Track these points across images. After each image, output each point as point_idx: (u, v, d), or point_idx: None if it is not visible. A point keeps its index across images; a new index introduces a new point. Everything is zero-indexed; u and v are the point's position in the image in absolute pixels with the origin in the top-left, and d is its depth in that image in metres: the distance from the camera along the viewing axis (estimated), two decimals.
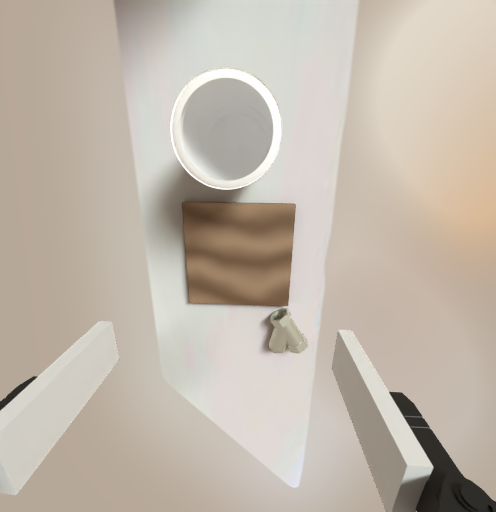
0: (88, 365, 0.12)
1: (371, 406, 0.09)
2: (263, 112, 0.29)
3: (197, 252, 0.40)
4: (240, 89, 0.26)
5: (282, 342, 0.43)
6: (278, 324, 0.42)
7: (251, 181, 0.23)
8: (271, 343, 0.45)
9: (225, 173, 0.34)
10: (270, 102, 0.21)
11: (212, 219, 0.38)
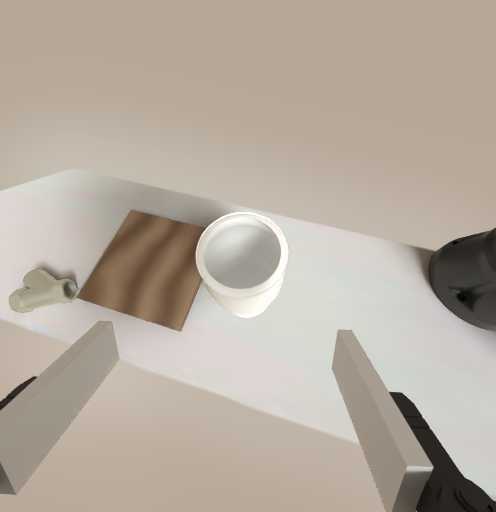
0: (88, 365, 0.12)
1: (371, 406, 0.09)
2: None
3: (172, 229, 0.43)
4: (280, 287, 0.30)
5: (34, 282, 0.38)
6: (58, 284, 0.37)
7: (197, 260, 0.26)
8: (42, 272, 0.40)
9: (227, 269, 0.37)
10: (252, 290, 0.24)
11: (195, 250, 0.41)
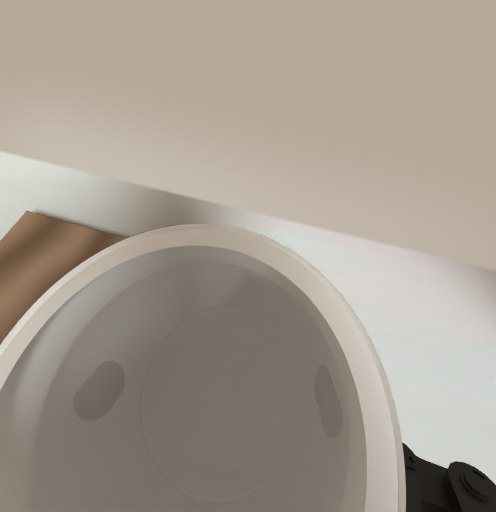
0: None
1: (327, 383, 0.10)
2: (266, 497, 0.11)
3: (94, 249, 0.23)
4: (324, 462, 0.09)
5: None
6: None
7: None
8: None
9: (186, 344, 0.17)
10: None
11: None
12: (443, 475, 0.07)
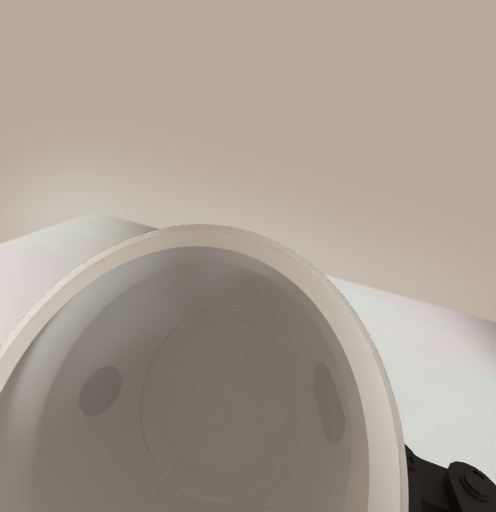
0: None
1: (327, 383, 0.10)
2: (267, 499, 0.11)
3: None
4: (325, 464, 0.09)
5: None
6: None
7: None
8: None
9: (187, 345, 0.17)
10: None
11: None
12: (443, 475, 0.07)
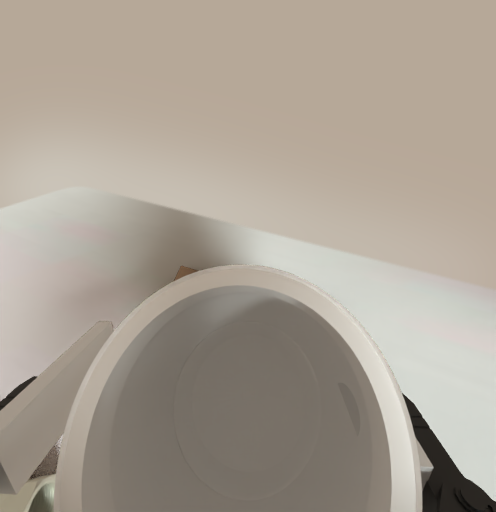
0: (88, 365, 0.12)
1: None
2: (291, 496, 0.12)
3: None
4: (344, 466, 0.11)
5: None
6: (13, 509, 0.16)
7: (62, 473, 0.07)
8: None
9: (210, 356, 0.18)
10: None
11: None
12: None
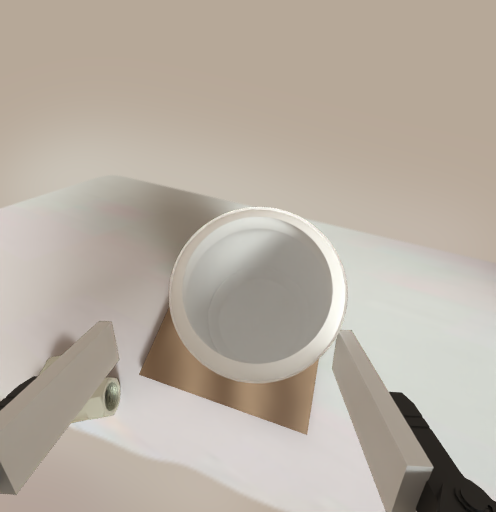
0: (88, 365, 0.12)
1: (371, 406, 0.09)
2: None
3: None
4: None
5: None
6: (95, 392, 0.23)
7: (171, 292, 0.14)
8: None
9: (233, 291, 0.25)
10: (272, 369, 0.12)
11: None
12: None
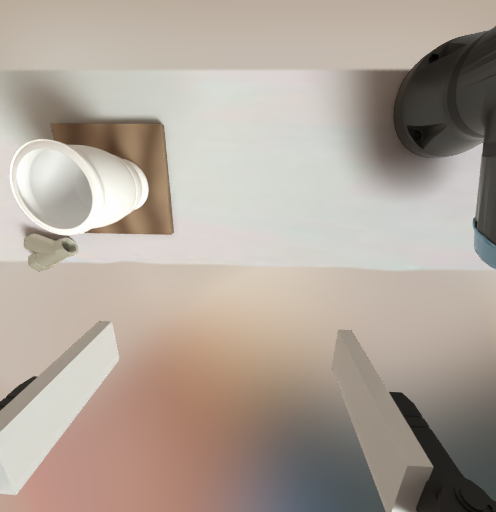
0: (88, 365, 0.12)
1: (371, 406, 0.09)
2: (127, 213, 0.36)
3: (111, 137, 0.38)
4: (127, 199, 0.32)
5: (36, 249, 0.44)
6: (56, 247, 0.43)
7: (22, 207, 0.28)
8: (34, 237, 0.44)
9: None
10: (80, 228, 0.28)
11: (148, 155, 0.39)
12: None
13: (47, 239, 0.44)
